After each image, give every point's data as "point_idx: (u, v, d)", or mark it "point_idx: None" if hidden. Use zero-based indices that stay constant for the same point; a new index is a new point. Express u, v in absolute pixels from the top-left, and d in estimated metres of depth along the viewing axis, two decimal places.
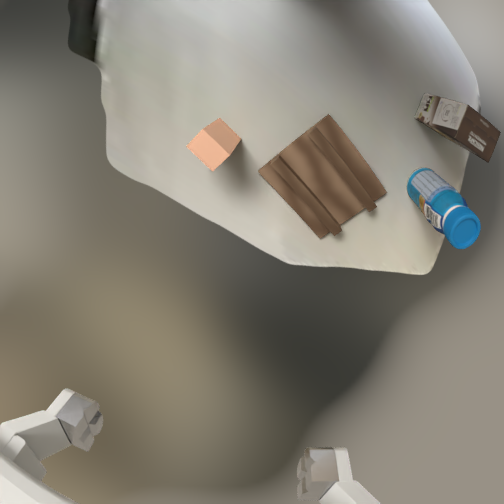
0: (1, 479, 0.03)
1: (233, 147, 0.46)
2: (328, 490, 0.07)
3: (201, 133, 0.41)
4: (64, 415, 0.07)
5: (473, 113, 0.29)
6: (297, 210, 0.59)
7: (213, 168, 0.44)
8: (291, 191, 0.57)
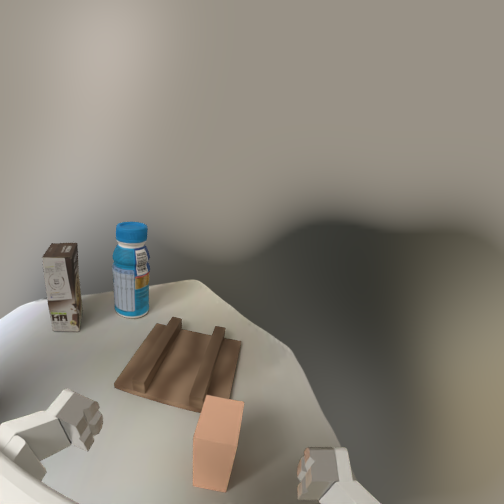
0: (1, 479, 0.03)
1: None
2: (328, 490, 0.07)
3: (201, 435, 0.22)
4: (64, 415, 0.07)
5: (46, 254, 0.43)
6: (233, 366, 0.48)
7: (239, 402, 0.27)
8: (218, 379, 0.44)
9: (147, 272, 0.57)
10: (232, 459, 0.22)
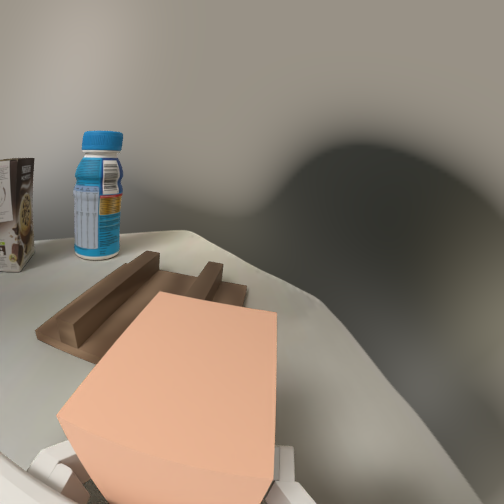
0: (1, 479, 0.03)
1: None
2: (271, 489, 0.07)
3: (93, 415, 0.04)
4: None
5: None
6: None
7: (261, 313, 0.09)
8: None
9: (118, 193, 0.40)
10: None
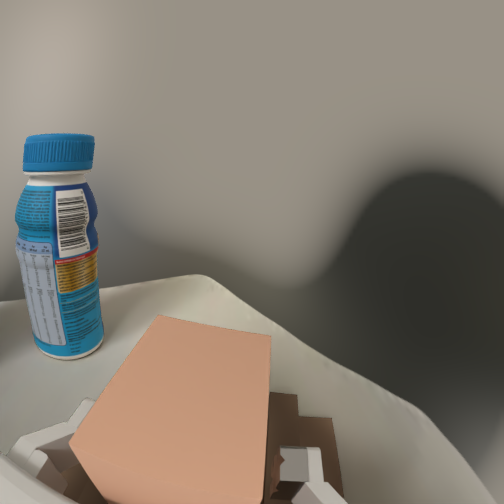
0: (1, 479, 0.03)
1: None
2: (299, 490, 0.07)
3: (102, 442, 0.04)
4: None
5: None
6: None
7: (256, 337, 0.09)
8: None
9: (88, 250, 0.21)
10: None
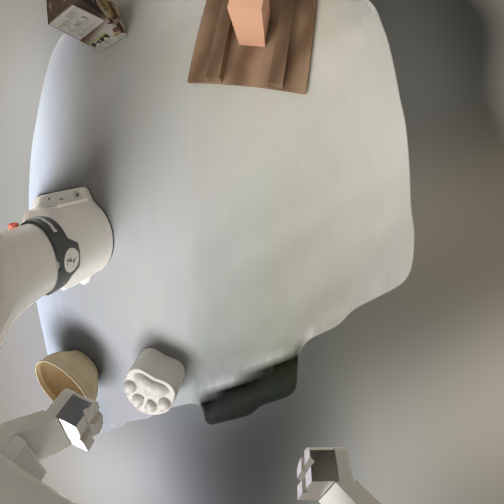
0: (1, 479, 0.03)
1: None
2: (328, 490, 0.07)
3: (233, 5, 0.23)
4: (64, 415, 0.07)
5: (50, 16, 0.21)
6: (310, 30, 0.33)
7: None
8: (296, 48, 0.35)
9: None
10: (261, 19, 0.26)
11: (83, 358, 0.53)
